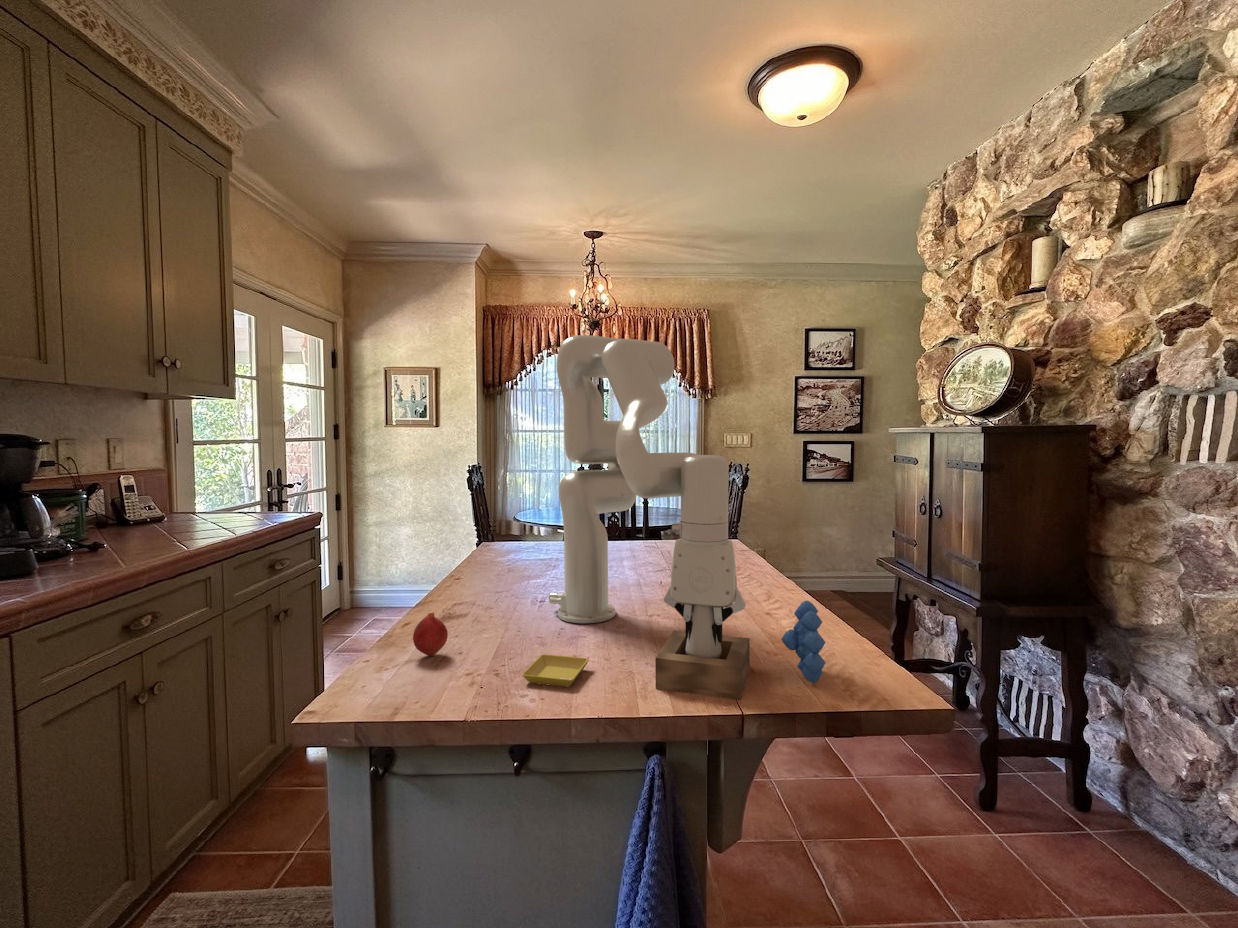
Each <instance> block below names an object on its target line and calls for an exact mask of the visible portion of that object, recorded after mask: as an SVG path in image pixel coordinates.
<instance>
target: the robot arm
mask: <svg viewBox="0 0 1238 928" xmlns="http://www.w3.org/2000/svg"><path fill="white" fill-rule="evenodd" d="M674 371H675V359H674V356H673V353H672V352H671V350H670V349H669V348H668V346H667V345H665V343H662V342H660V341H653V340H644V339H634V338H618V337H617V338H616V337H607V336H601V335H592V334H591V335H589V334H587V335H586V334H584V335H582V334H581V335H573V336H570V337H568V338H566V339H565V340H564V341H563V342H562V343H561V345H560V347H559V349H558V353H557V358H556V372H557V373H556V374H557V378H558V379H557V380H558V383H559V386H560V390H561V394H562V399H563V401H562V402H563V429H564V431H563V432H564V434H563V435H564V449H565V450H564V451H565V454H566V457H567V460H569V461H570V462H571V463H574V464H579V465H602V464H603V465H604V464H605V465H606V464H607V468H608V469H593V470H592V469H591V470H590V469H588V470H587V469H586V470H577V471H572V472H569V473H568V474H566V475H565V476H563V478H562V479H561V481H560V482H559V486H558V497H559V503H560V507H561V513H562V514H561V515H562V523H563V547H564V548H563V549H564V550H563V554H564V555H563V556H564V557H563V558H564V559H563V560H564V561H563V564H564V565H563V566H564V567H563V568H564V592H562V593H559V592H550V593H549V595H548V602H549V604H552V605H559V606H560V607H559V608H558V610H557V616H558V618H559V619H560V620H562V621H564V622H567V623H574V624H595V623H596V624H597V623H602V622H605V621H606V622H607V621H609V620H611V619H613V618H614V617H615V615H616V608H615V607H614V606H613V605H611V604H609V565H608V564H609V548H608V547H609V546H608V545H609V539H608V532H607V529H606V527H605V525H604V523H603V522H602V520H600V517H599V515H600V514H608V513H617V512H618V513H619V512H624V511H627V510H629V509H631V508H632V507H633V505H634V504H635V502H636V499H637V497H639V498H642V499H662V498H677V497H680V520H679V522H677V523H672V524H671V533H673V532H675V533H677V534H678V535H679V538H677V539H676V540H675V541H674V547H673V553H672V562H671V574H670V585H669V588H668V591H667V592H666V593H665V596H663V597H664V598H663V602H664V603H666V604H667V605H669V606H670V607H672V608H674V609H675V610H676V611H677V612H678V614H679V615H680V616H681V617H682V620H683V621H684V622H685V632H686V639H687V637H688V632H689V640H690V635H691V631H692V625H693V624H692V621H691V617H692V616H691V615H692V609H693V605H699V606H710V607H713V608H714V624H713V625H712V631H713V638H714V642H715V646H716V634H717V639H718V642H719V643H721V642H722V635H723V623H724V622H725V621H726V620H727V619H728V618H729V617H731V616H732V615H733V614H736V613H738V612H741V611H743V610H745V608H746V602H745V599H744V598H743V596H742V593H741V592H740V590H739V588H738V586H737V585H738V584H737V569H736V568H737V567H736V556H735V551H734V550H735V549H734V544H733V540H730V539H729V473H730V472H729V462H728V460H727V459H726V457H724V456H721V455H717V454H715V455H714V454H697V453H694V452H648V450H647V448H646V445H645V444H644V442H643V439H642V437H641V432H640V429H641V428H643V427H645V426H647V425H649V424H651V423H652V422H654V421H656V420H657V419H658V418H660V416H662V415H663V413H664V412H665V410H666V409H667V406H668V399H667V396H666V393H665V391H664V390H663V388H662V386H661V385H664V384H666V383H668V382H669V381H670V379H672V377H673V375H674ZM591 378H599V379H600V378H601V379H608V382H609V385H610V388H611V389H612V392H613V395H614V397H615V399H616V401H617V403H618V407H619V408H620V411H621V413H622V416H623V417H622V419H621V420H620V421H619V420H606V419H605V418H604V402H603V398H602V394H601V393H600V390H599V389H598V387H597V385H596V384H595V383H594V382H593V381H592V380H591Z"/></svg>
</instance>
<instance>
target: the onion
mask: <svg viewBox="0 0 1238 928" xmlns="http://www.w3.org/2000/svg"><path fill="white" fill-rule="evenodd" d="M448 635H449V634H448V629H447V627H446V625H445V624H444V622H442V620H441V619H439V618H437V617H436V616H435V612H434V611H430V612H428V614H427V615H426V616H425V617H424V618H423V619H421V620H420V622H418V623H417V625H416V627H415V628H414V630H413V634H412V641H413V645H414V647H415V648H416V650H418V651H419V652H420V653H422V654H424V655H425V656H428V657H430V656H432V657H434V656H436V654H437V653H438V652H439V651H440V650H442V649H443V647H444V646H445V645H446V643H447V640H448Z"/></svg>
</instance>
